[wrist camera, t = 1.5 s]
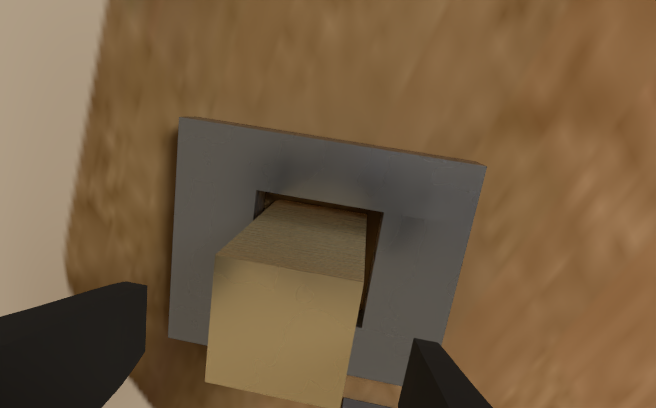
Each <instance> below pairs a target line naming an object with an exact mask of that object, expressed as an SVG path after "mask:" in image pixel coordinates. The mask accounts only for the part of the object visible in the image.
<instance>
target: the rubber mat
mask: <svg viewBox="0 0 656 408" xmlns="http://www.w3.org/2000/svg"><path fill="white" fill-rule="evenodd" d="M342 408H390V407H385V406H381V405H376V404H371V403H366V402H362V401H357V400H352V399H348V398H344V399H343V404H342Z"/></svg>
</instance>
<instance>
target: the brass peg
mask: <svg viewBox="0 0 656 408" xmlns="http://www.w3.org/2000/svg"><path fill="white" fill-rule="evenodd" d="M366 223H367V214H363V213H357V212H352V211H346V210H340V209H335V208H329V207H323V206H317V205H312V204H306V203H300V202H294V201H289V200H283V199H277V200H276V201H275V202H274V203H273V204H272V205H271V206H269V207H268V208H267V209H266V210H265V211H264V212H263V213H262V214H260V215H259V216H258V217H257V218H256V219H255V220H254V221H253V222H251V223H250V224H249V225H248V226H247V227H246V228H245V229H244V230H242V231H241V232H240V233H239V234H238V235H237V236H236V237H235V238H234V239H232V240H231V241H230V242H229V243H228V244H227V245H226V246H225V247H223V248H222V249H221V250H220V251H219V252H218V253H217V254H216V255H215V262H214V274H213V286H212V298H211V311H210V323H209V335H208V348H207V360H206V372H205V382H208V383H212V384H217V385H222V386H226V387H231V388H236V389H240V390H245V391H250V392H254V393H259V394H264V395H268V396H273V397H278V398H282V399H287V400H292V401H296V402H301V403H306V404H311V405H315V406H320V407H325V408H340V407H341V401H342V396H343V391H344V386H345V380H346V375H347V370H348V364H349V359H350V354H351V349H352V343H353V338H354V333H355V327H356V322H357V317H358V312H359V306H360V301H361V296H362V291H363V285H364V270H365V246H366Z"/></svg>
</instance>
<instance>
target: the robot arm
mask: <svg viewBox="0 0 656 408" xmlns="http://www.w3.org/2000/svg"><path fill="white" fill-rule="evenodd" d="M146 309H147V286H146V285H141V284H136V283H131V282H121V283H116V284H112V285H108V286H104V287H101V288H97V289H94V290H91V291H87V292H84V293H81V294H77V295H74V296H71V297H67V298H64V299H61V300H57V301H54V302H51V303H48V304H44V305H41V306H38V307H34V308H31V309H27V310H24V311H20V312H16V313H12V314H9V315H5V316H2V317H0V408H102V407H103V405H104V404H105V403H106V402H107V401H108V400H109V399H110V398H111V396H112V395H113V394H114V393H115V392H116V391H117V390H118V388H119V387H120V386H121V385H122V384H123V382H124V381H125V380H126V378H127V377H128V376H129V374H130V373H131V371H132V370H133V369H134V367H135V366H136V364H137V363H138V361H139V360H140V358H141V357H142V355H143V354H144V352H145V339H146ZM398 408H493V407H492V406H491V405H490V404H489V403H488V402H487V401H486V399H485V398H484V397H483V396H482V395H481V394H480V393H479V391H478V390H477V389H476V388H475V387H474V385H473V384H472V383H471V382H470V381H469V380H468V378H467V377H466V376H465V375H464V373H463V372H462V371H461V370H460V369H459V367H458V366H457V365H456V364H455V362H454V361H453V360H452V359H451V358H450V356H449V355H448V354H447V353H446V351H445V350H444V349H443V348H442V347H441V346H440V344H439V343H438V342H433V341H428V340H423V339H418V338H414V339H413V343H412V347H411V352H410V356H409V360H408V364H407V369H406V373H405V377H404V381H403V386H402V390H401V394H400V399H399V403H398Z"/></svg>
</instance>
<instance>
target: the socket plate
mask: <svg viewBox="0 0 656 408" xmlns="http://www.w3.org/2000/svg"><path fill="white" fill-rule="evenodd" d="M486 168H487V166H485V165H483V164H480V163H478V162H475V161H469V160H463V159H456V158H450V157H444V156H438V155H431V154H425V153H419V152H413V151H407V150H400V149H394V148H388V147H382V146H375V145H369V144H363V143H357V142H350V141H344V140H338V139H332V138H325V137H319V136H313V135H307V134H301V133H294V132H288V131H282V130H276V129H269V128H263V127H257V126H251V125H244V124H238V123H232V122H226V121H220V120H213V119H207V118H201V117H179V130H178V149H177V169H176V189H175V208H174V228H173V247H172V267H171V287H170V306H169V326H168V338H173V339H178V340H182V341H187V342H192V343H197V344H202V345H206V346H208V335H209V323H210V311H211V298H212V286H213V274H214V262H215V255H216V254H217V253H218V252H219V251H220V250H221V249H222V248H223V247H225V246H226V245H227V244H228V243H229V242H230V241H231V240H232V239H234V238H235V237H236V236H237V235H238V234H239V233H240V232H241V231H242V230H244V229H245V228H246V227H247V226H248V225H249V224H250V223H251V222H253V221H254V220H255V219H256V218H257V217H258V216H259V215H260V214H262V213H263V209H264V200H265V192H270V193H276V194H282V195H288V196H293V197H299V198H305V199H311V200H316V201H322V202H328V203H334V204H340V205H345V206H351V207H357V208H363V209H368V210H374V211H380V212H381V217H380V222H379V227H378V232H377V238H376V243H375V248H374V253H373V258H372V264H371V269H370V274H369V279H368V284H367V290H366V295H365V300H364V305H363V310H359V312H358V317H357V322H356V327H355V333H354V338H353V343H352V349H351V354H350V359H349V364H348V370H347V375H351V376H356V377H361V378H366V379H370V380H375V381H380V382H385V383H390V384H394V385H399V386H403V381H404V377H405V373H406V369H407V364H408V360H409V356H410V352H411V347H412V343H413V339H414V338H418V339H423V340H428V341H433V342H438V343H439V344H440V346H441V344H442V340H443V337H444V333H445V329H446V325H447V321H448V317H449V313H450V309H451V305H452V301H453V297H454V294H455V290H456V286H457V282H458V278H459V274H460V270H461V266H462V262H463V258H464V254H465V251H466V247H467V243H468V239H469V235H470V231H471V227H472V223H473V219H474V215H475V211H476V208H477V204H478V200H479V196H480V192H481V188H482V184H483V180H484V176H485V172H486Z"/></svg>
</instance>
